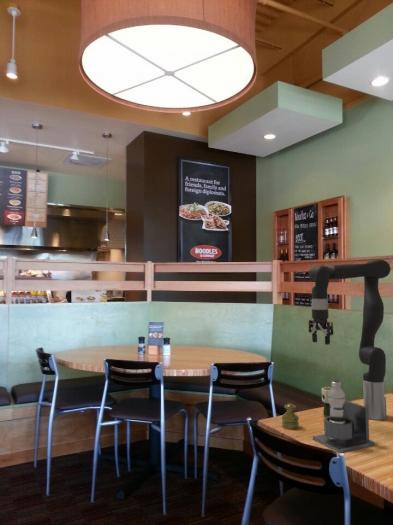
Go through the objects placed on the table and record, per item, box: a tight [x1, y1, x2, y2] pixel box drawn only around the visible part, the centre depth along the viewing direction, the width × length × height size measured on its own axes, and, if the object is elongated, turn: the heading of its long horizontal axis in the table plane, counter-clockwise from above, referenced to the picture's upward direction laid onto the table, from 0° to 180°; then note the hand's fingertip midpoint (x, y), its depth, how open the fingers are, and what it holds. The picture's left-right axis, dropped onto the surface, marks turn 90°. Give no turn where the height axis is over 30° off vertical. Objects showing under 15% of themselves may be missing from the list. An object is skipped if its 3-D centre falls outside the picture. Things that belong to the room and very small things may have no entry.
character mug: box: [321, 386, 332, 417], centre depth 199 cm, size 11×7×13 cm, turn 163°
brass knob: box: [281, 403, 300, 430], centre depth 185 cm, size 7×7×10 cm
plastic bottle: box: [328, 380, 346, 424], centre depth 167 cm, size 6×7×20 cm
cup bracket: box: [312, 399, 376, 453], centre depth 166 cm, size 18×15×14 cm
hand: (320, 343), depth 193 cm, fingers open, 8 cm apart
